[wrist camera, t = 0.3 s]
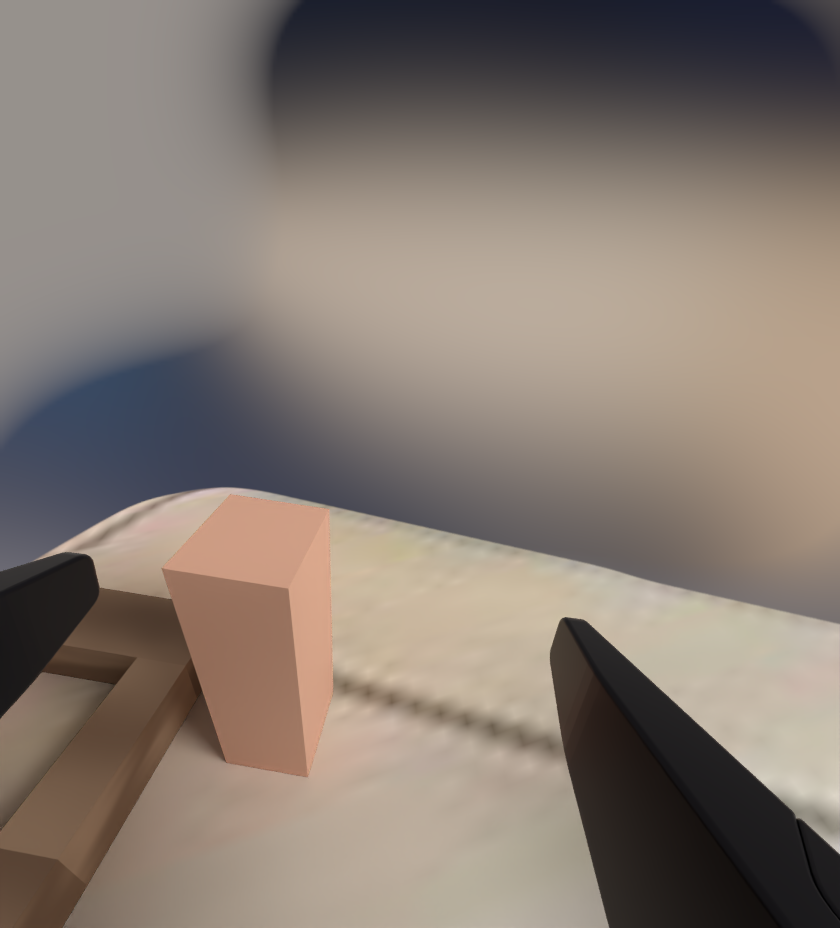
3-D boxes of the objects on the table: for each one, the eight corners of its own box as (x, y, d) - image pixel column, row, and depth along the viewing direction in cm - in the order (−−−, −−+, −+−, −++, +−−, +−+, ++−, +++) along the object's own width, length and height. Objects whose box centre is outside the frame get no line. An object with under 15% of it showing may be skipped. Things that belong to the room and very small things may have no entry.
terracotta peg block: (307, 777, 18) (288, 588, 12) (226, 762, 19) (161, 568, 12) (333, 692, 22) (329, 509, 15) (264, 680, 22) (230, 494, 15)
